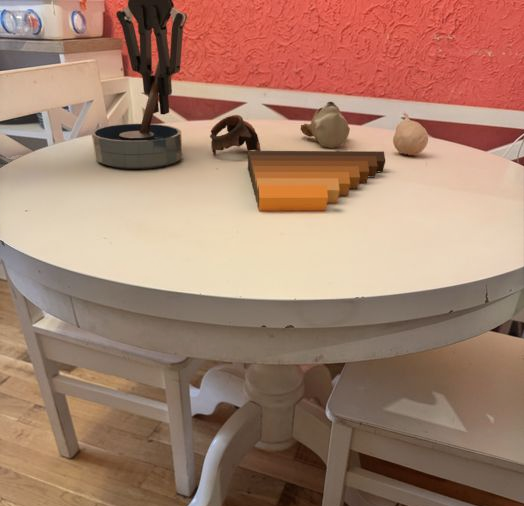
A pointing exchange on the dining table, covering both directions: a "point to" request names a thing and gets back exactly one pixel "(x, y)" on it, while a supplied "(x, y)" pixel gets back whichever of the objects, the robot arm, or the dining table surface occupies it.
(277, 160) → the pan flute
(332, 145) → the ceramic sculpture
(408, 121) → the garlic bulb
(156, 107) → the robot arm
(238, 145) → the brown hollow curved piece
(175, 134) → the bowl
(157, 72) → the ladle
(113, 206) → the dining table surface
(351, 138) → the dining table surface
